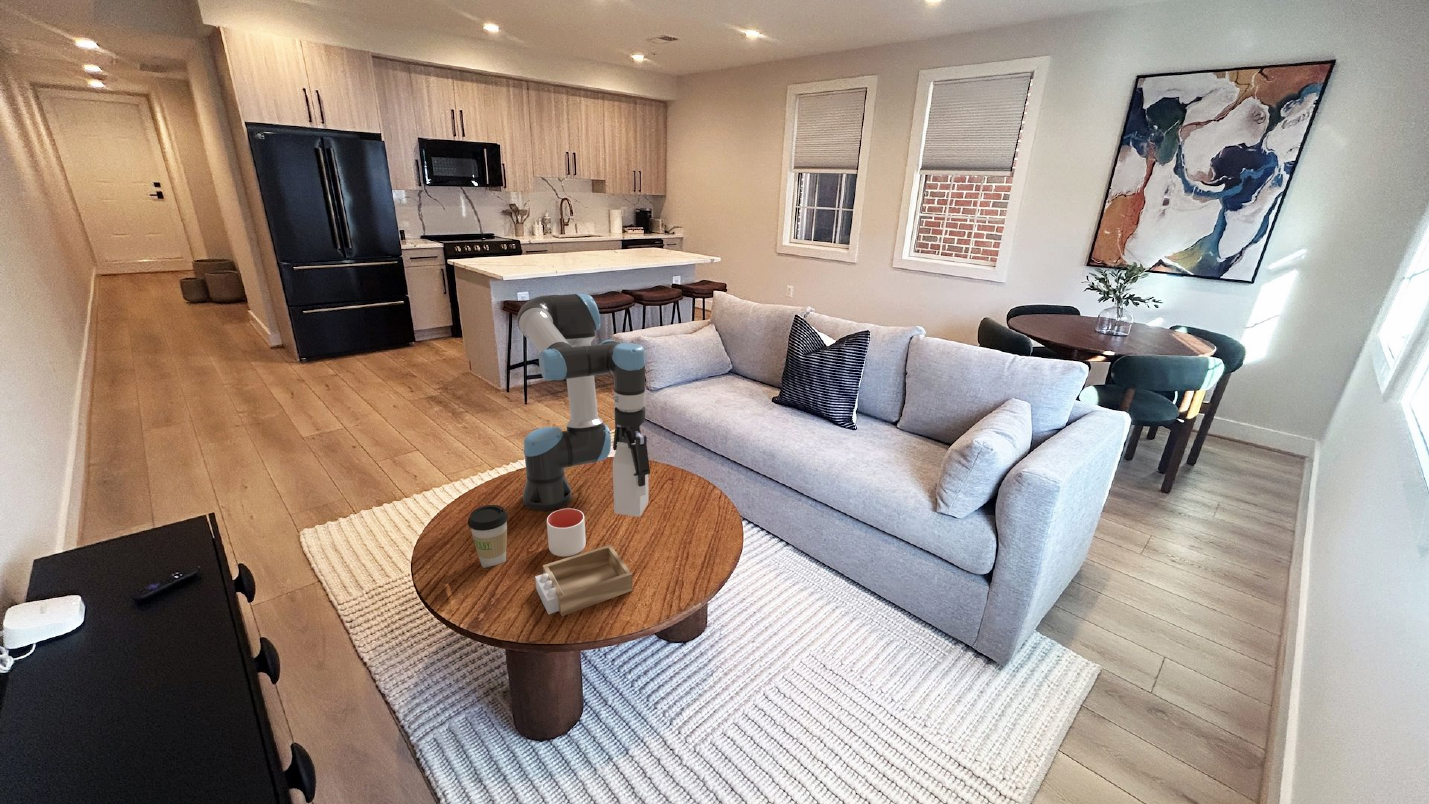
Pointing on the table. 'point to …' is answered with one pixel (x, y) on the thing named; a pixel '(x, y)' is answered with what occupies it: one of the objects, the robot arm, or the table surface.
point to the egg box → (547, 593)
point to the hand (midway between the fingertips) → (631, 486)
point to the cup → (566, 532)
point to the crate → (589, 578)
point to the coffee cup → (489, 534)
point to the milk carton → (626, 483)
